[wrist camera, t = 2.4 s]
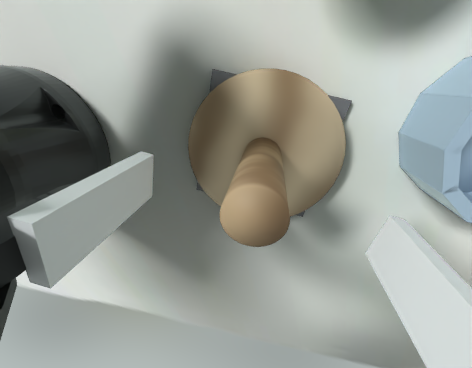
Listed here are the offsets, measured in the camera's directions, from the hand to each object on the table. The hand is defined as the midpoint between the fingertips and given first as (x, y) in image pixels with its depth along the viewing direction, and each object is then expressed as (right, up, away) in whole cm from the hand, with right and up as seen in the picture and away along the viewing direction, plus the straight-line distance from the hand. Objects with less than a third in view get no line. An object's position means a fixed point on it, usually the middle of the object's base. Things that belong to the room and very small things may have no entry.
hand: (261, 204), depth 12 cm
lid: (+1, +4, +9) cm, 10 cm away
